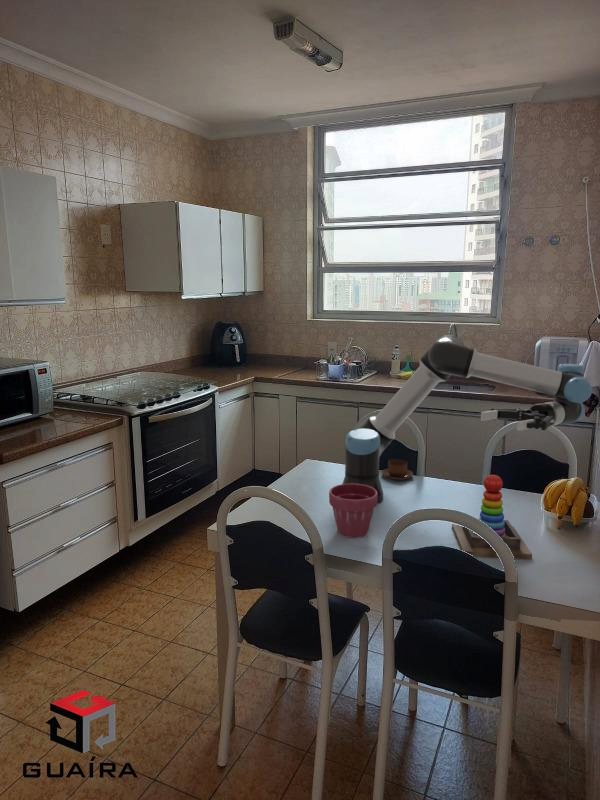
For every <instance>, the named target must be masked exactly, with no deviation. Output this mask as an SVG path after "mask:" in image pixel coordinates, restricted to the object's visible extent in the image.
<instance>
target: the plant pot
mask: <svg viewBox="0 0 600 800" xmlns="http://www.w3.org/2000/svg"><path fill="white" fill-rule="evenodd" d="M328 497H329V499H328V500H329V501H328V502H329V505H330V506H331V507H332V511H333V515H334V520H335V525H336V528H337V533H338V534H339V535H341V536H342V537H347V538H353V539H354V538H356V539H357V538H362V537H364V536H366V535H367V534H368V533H369V530H370V526H371V522H372V517H373V514H374V510H375V508H376V507H377V506H378V504H377V501H378V494H377V491H376V490H375V489H374V488H373V487H370V486H367V485H363V484H353V483H351V484H342V483H340V484H337V485H334V486H333V487H331V488H330V489H329V492H328Z"/></svg>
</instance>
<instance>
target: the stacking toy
mask: <svg viewBox="0 0 600 800" xmlns="http://www.w3.org/2000/svg"><path fill="white" fill-rule="evenodd" d="M503 486H504V483H503V480H502V478H501V477H500V476H499V475H497V474H489V475H487V476H486V477H485V478H484V480H483V487H484V489H485V490H484V491H483V493H482V495H483V498H482V499H481V503H482V504H481V505H480V510H481V511H480V512H479V518H478V519H479V520H481V521H482V522H484V523H485V524H487V525H488V526H489V527H491V528H492V529H493V530H494V531H495V532H496V533H497V534H498V535H499V536H500V537H506V535H505V528H504V525H505V522H504V520H505V514H504V513H503V512H504V507H503V500H502V498H503V493H502V492H501V490H502V489H503ZM476 535H477V534H476ZM477 536H478V535H477Z"/></svg>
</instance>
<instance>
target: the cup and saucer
mask: <svg viewBox="0 0 600 800" xmlns="http://www.w3.org/2000/svg"><path fill="white" fill-rule="evenodd" d="M381 473H382V475H383V476H384V477H386V478H387V479H392V480H397V481H399V480H401V481H403V480H407V479H410V478H412V477H413V476H414V472H413V471H412V470H411V469H408V461H407V460H404V459H402V458H401V459H400V458H399V459H398V458H394V459H389V460H388V462H387V468H385V469H382V471H381ZM405 475H408V476H407V477H404V476H405Z"/></svg>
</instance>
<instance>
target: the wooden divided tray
mask: <svg viewBox="0 0 600 800" xmlns="http://www.w3.org/2000/svg"><path fill="white" fill-rule="evenodd" d="M503 520H504V522H505V525H504V528H505V535H506V537H501V538H502V539H503V541H504V542H505V543H506V544H507V545H508V547H509V548H510V550H511V552H512V554H513V556H514V558H515V559H516V560H533V553H532V551H531V550H530V549H529V547H528V546H527V544H526V543H525V541H524V540H523V538H522V536H520V535H521V534H519V533H518V531H517V529H516V528H515V527H514V526H513V525H512V524H511V523H510V521H509V520H508V519H503ZM455 524H456V523H452V524H451V530H452V533H453V532H454V533H453V535H454V537H455V539H456V542H457V545H458V547H459V549H460V551H461V550H463V551H465V552H467V553H469V554H471V555H473V556H475V558H490V559H492V558H494V559H499V558H498V556H497V554H496V552H495V551H494V550H493V549H492V547H490V545H489V544H488V543H487V542H486V541H485V540H484V539H482V538H481V537H480V536H477V535H476V534H475V533H473V531H471V530H469V529H467V528H465V527H462V526H459V525H455Z"/></svg>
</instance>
